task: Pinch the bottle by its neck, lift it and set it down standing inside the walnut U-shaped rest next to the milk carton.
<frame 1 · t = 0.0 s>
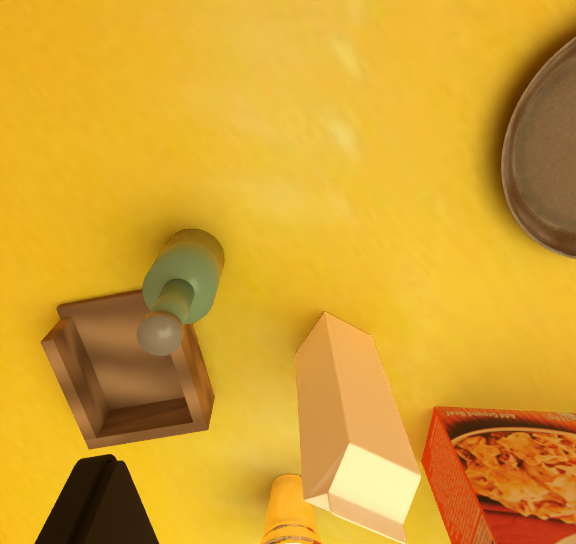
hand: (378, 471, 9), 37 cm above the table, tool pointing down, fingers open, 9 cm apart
u rest: (140, 353, 51), on the table
pasta box: (524, 438, 56), on the table
cup with straw: (291, 487, 58), on the table
bottle: (194, 257, 47), on the table
milk: (333, 344, 51), on the table
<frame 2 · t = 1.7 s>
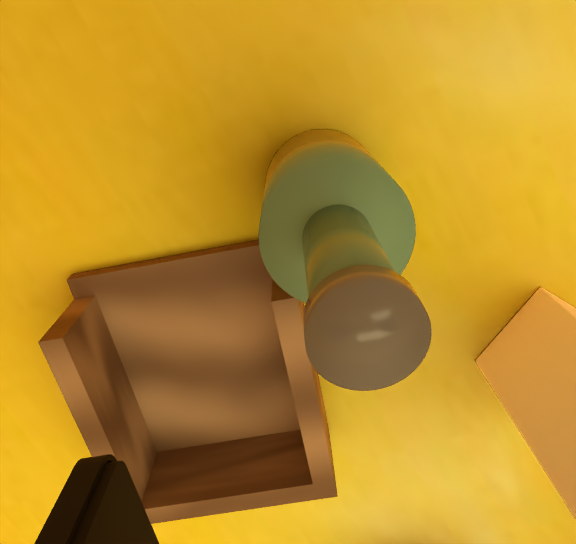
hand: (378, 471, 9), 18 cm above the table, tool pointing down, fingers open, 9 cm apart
u rest: (211, 358, 29), on the table
bottle: (320, 186, 25), on the table
milk: (541, 343, 30), on the table
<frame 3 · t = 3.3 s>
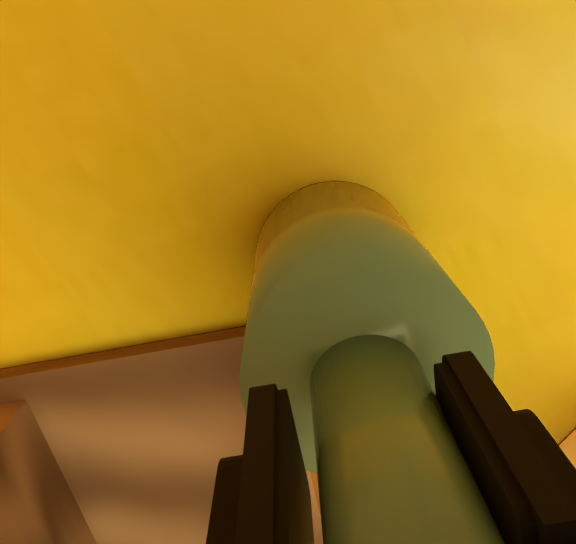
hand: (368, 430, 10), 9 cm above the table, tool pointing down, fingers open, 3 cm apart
u rest: (186, 472, 22), on the table
bottle: (332, 256, 18), on the table, touching gripper
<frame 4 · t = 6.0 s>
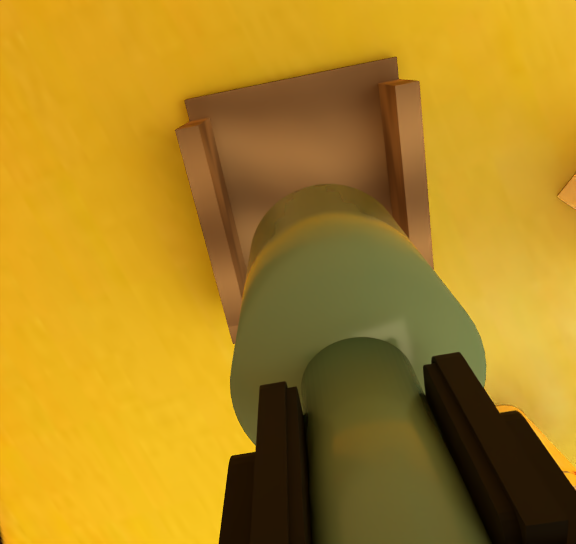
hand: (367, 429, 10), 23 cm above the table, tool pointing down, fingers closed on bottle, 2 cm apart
u rest: (308, 193, 31), on the table
cup with straw: (500, 427, 39), on the table
bottle: (326, 259, 18), point 14 cm above the table, touching gripper
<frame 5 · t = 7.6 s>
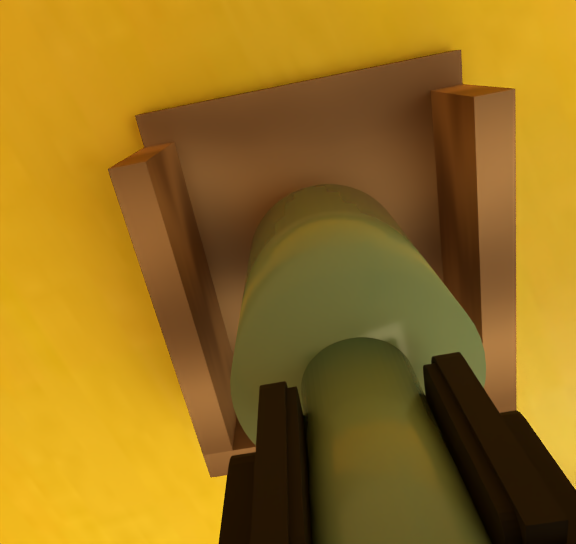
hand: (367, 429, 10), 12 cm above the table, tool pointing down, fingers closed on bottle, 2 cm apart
u rest: (322, 248, 21), on the table
bottle: (326, 259, 18), point 3 cm above the table, touching gripper
when the fingers open (11 cm above the table, at t = 8.6 s): bottle stays where it is, resting on u rest.
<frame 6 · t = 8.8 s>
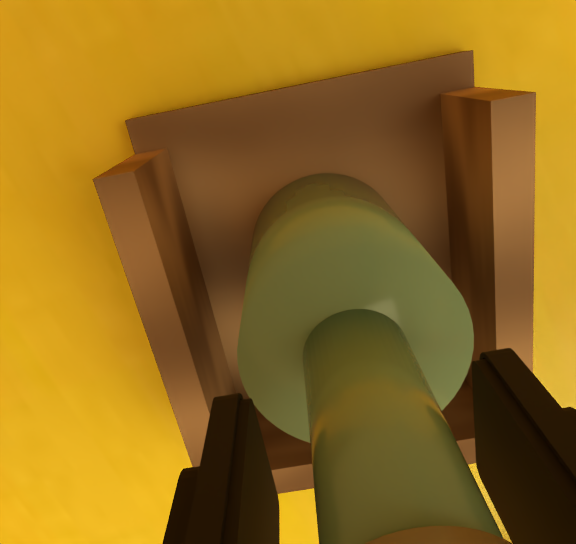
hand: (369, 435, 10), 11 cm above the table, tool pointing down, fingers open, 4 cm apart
u rest: (324, 260, 20), on the table
bottle: (325, 245, 19), point 1 cm above the table, touching u rest
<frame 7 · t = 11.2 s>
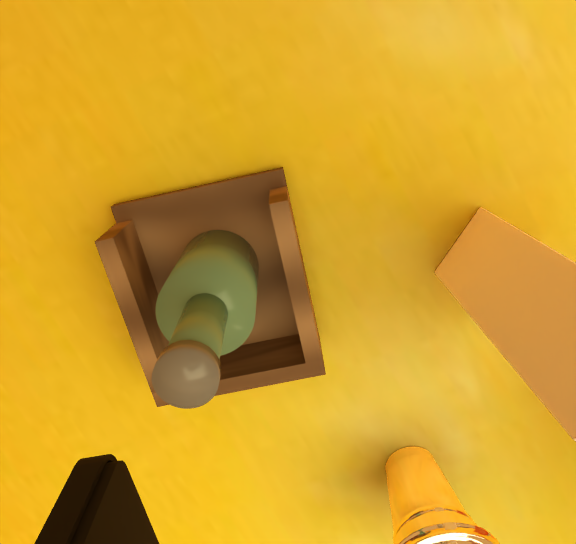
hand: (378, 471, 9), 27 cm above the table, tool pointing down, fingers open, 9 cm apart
u rest: (223, 275, 37), on the table
cup with straw: (411, 465, 44), on the table
bottle: (219, 267, 36), point 1 cm above the table, touching u rest
milk: (486, 257, 37), on the table
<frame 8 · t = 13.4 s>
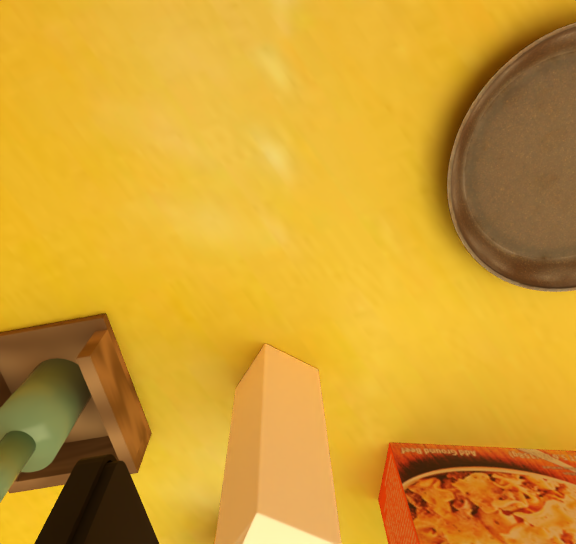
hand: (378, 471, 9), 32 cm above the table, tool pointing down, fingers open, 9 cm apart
u rest: (68, 387, 47), on the table
pasta box: (487, 475, 52), on the table
bottle: (62, 384, 46), point 1 cm above the table, touching u rest
milk: (276, 377, 47), on the table
plant saucer: (561, 161, 40), on the table
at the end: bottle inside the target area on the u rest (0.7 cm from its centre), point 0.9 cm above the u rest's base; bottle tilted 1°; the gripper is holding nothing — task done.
